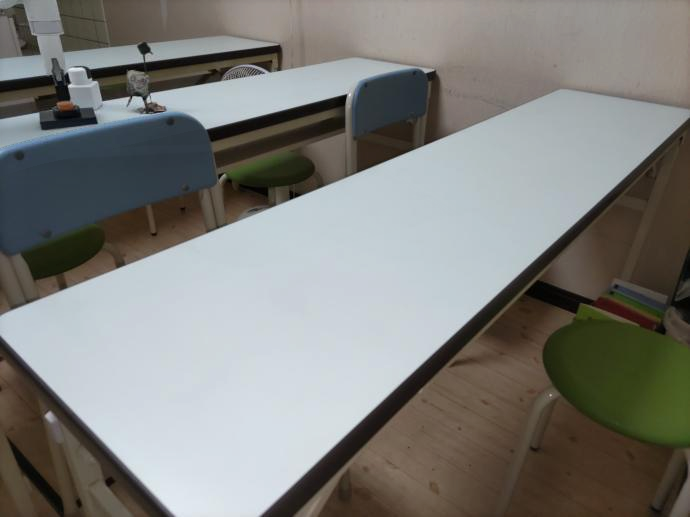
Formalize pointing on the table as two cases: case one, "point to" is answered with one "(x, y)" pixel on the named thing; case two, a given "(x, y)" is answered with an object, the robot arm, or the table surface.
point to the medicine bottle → (83, 88)
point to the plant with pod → (141, 84)
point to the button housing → (67, 117)
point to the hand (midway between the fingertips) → (64, 99)
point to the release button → (65, 105)
